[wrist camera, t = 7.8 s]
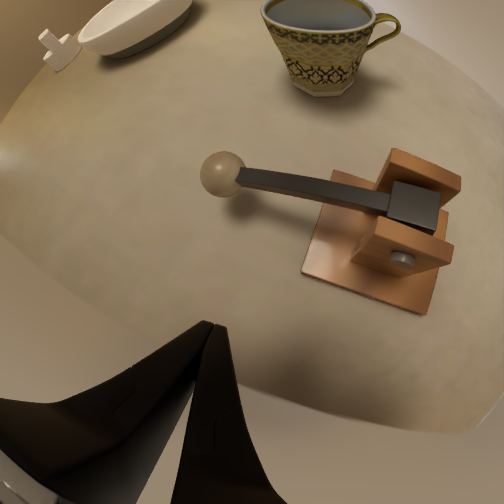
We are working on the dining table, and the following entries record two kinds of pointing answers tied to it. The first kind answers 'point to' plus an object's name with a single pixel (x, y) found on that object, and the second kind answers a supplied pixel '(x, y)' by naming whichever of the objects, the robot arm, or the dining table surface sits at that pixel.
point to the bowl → (133, 26)
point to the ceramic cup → (323, 40)
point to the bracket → (384, 239)
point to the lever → (324, 191)
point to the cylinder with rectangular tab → (59, 49)
